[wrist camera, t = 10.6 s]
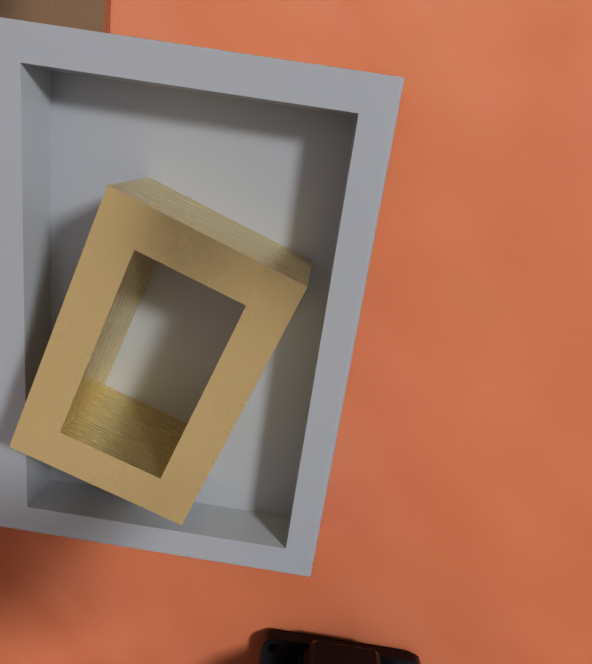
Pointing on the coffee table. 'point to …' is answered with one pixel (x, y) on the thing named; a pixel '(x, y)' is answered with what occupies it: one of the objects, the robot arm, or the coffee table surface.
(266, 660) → the robot arm
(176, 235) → the gold hollow rectangular block
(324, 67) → the tray
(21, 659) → the coffee table surface
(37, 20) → the brown peg base plate
